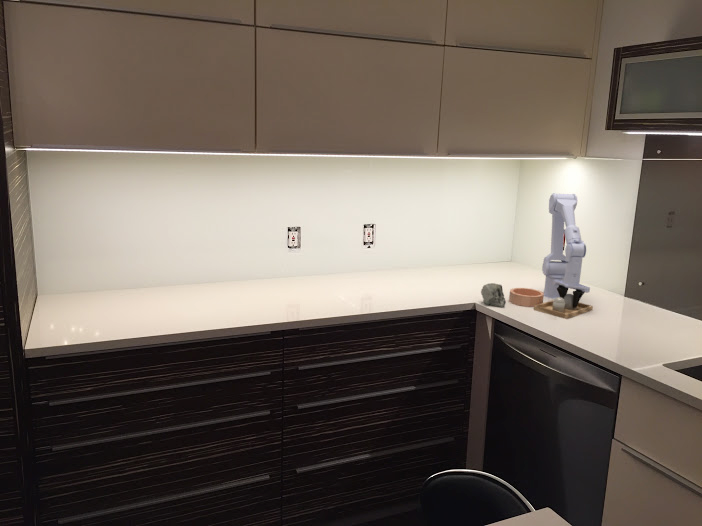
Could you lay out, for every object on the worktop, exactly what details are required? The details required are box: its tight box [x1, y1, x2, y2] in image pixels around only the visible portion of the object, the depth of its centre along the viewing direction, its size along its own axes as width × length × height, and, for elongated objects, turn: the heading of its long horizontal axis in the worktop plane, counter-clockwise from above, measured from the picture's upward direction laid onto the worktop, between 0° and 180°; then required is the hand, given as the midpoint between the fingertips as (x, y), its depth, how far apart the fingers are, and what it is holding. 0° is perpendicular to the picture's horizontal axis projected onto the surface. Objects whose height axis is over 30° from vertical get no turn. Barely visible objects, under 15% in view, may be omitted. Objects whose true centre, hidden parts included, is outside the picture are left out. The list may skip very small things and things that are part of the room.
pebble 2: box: [564, 293, 574, 310], centre depth 241 cm, size 4×4×6 cm
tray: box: [533, 299, 594, 320], centre depth 238 cm, size 20×14×2 cm
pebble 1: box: [552, 297, 565, 313], centre depth 235 cm, size 4×4×6 cm
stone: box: [480, 282, 506, 308], centre depth 243 cm, size 10×10×10 cm
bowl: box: [508, 287, 545, 308], centre depth 247 cm, size 13×13×5 cm
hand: (568, 306), depth 241 cm, fingers closed on pebble 2, 4 cm apart
